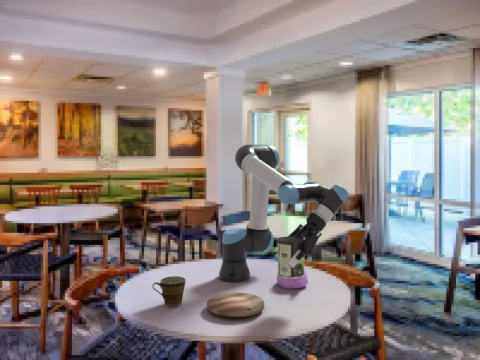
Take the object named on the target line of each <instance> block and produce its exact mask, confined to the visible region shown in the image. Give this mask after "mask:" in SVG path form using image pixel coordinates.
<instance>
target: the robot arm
mask: <svg viewBox="0 0 480 360" xmlns="http://www.w3.org/2000/svg"><path fill="white" fill-rule="evenodd" d="M234 161H235V164H236V166H237V167H238V168H239V169H240V170H241V171H242V172H244V173H246V174H250V175H252V181H251V182H252V183H251V197H250V211H249V222H248V223H247V224H246V225H245V226H246V227H245V228H244V227H243V228H242V227H237V228H231V229H230V228H229V229H227V230H225V231H223V233H222V237H221V238H222V240H221V243H222V244H221V246H222V260H221V261H222V263H221V264H220V265H221V266H220V269H219V272H218V278H219V280H220V281H224V282H228V283H240V282H246V281H248V280H250V278H251V272H250V269H249V266H248V263H247V255H251V254H257V253H263V252H266V251H268V250H270V249H271V248H272V247H273V244H274V235H273V231H272V229H270V225H269V224H268V223H267V222H268V212H269V209H268V208H269V196H270V190H272V191H273V192H275V193H276V194H277V197H278V199H279V201H280V203H282V204H284V205H293V204H302V203H303V204H304V203H313V202H314V203H317V205H316V206H315V208H314V209H313V210H312V212H311V213H310V214H309V215H308V216H307V217H306V219H305V220H306V223H305V224H304V225H303V224H302V223H300V224H298V226H297V227H296V228H295V229H294V230H293V231H292V232H291V233H289V235H287V237H300V238H303V239H304V242H303V244H302V247H301V248H299V249H300V250H301V251H300V250H298V251H297V252H296V253H295V255H294V256H293V257H292V258H291V260H290V261H289V262H288V264H289V265H290V266H291V267H292V268H294V267H295V265H296V264H297V263H298V262H299V260H300V259H301V258H302V257H303V256H304V257H305V255H310V254H311V253H312V251H313V250H314V248H315V246H316V245H317V242H318V240H319V239H320V237H322V235H323V233H322V231H323V230H324V229H325V228H326V226H327V224H329V223H330V221H332V218H333V217H334V216H335V215H336V213H337V212H338V211H339V210H340V209H341V208H342V206H343V205H345V202H346V201H347V200H348V198H349V192H348V190H347V189H346V188H345V187H344V186H342V185H340V184H338V183H337V184H334V185H333V186H331V187H328V186H326V185H322V184H320V183H318V182H316V181H312V180H307V181H306V182H304V183H302V184H301V183H299V184H297V183H295V182H293V181H292V180H290V179H289V178H287V177H286V176H285V175H283V174H281V173H280V172H278V171H277V170H276V169H277V168H278V166H279V164H280V154H279V152H278V150H277V148H276V147H275V146H273V145H271V144H244V145H242V146H240V147H239V148H238V149H237V151H236V152H235V155H234ZM274 257H275V258H276V259H277V260H278V252H277V253H276V254H275V255H274Z"/></svg>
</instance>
